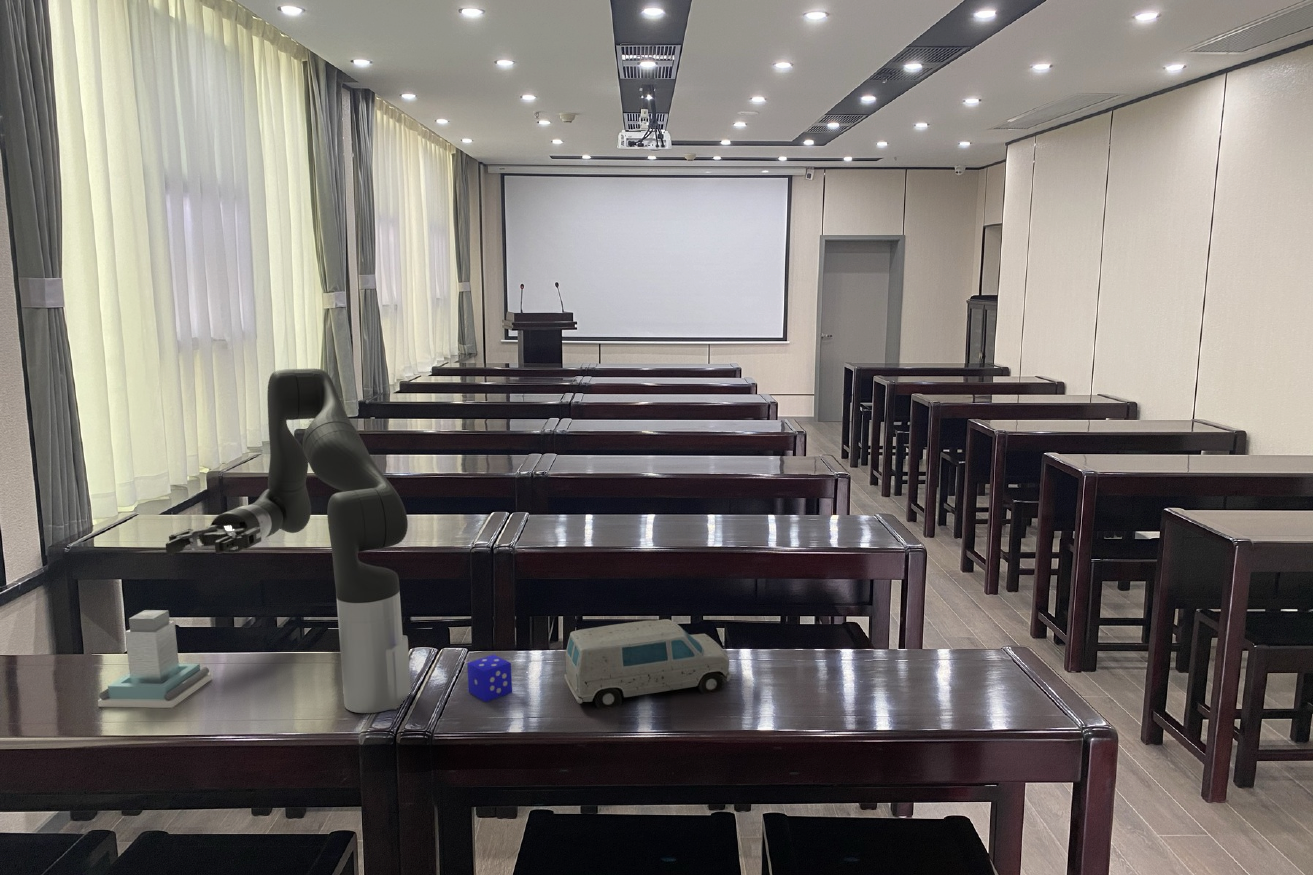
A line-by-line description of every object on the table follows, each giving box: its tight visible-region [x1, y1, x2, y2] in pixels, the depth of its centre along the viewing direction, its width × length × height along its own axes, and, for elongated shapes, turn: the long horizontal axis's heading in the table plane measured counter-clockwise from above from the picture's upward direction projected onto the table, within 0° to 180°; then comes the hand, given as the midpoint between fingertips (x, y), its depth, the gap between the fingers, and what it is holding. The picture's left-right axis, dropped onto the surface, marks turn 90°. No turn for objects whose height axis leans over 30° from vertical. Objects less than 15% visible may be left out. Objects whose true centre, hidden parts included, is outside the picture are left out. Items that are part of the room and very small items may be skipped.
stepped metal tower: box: [124, 609, 180, 684], centre depth 150 cm, size 5×5×12 cm
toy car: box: [564, 618, 732, 709], centre depth 147 cm, size 11×25×10 cm, turn 107°
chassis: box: [97, 662, 213, 709], centre depth 150 cm, size 12×11×3 cm
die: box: [466, 654, 513, 703], centre depth 147 cm, size 5×5×5 cm
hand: (192, 548), depth 158 cm, fingers open, 8 cm apart
